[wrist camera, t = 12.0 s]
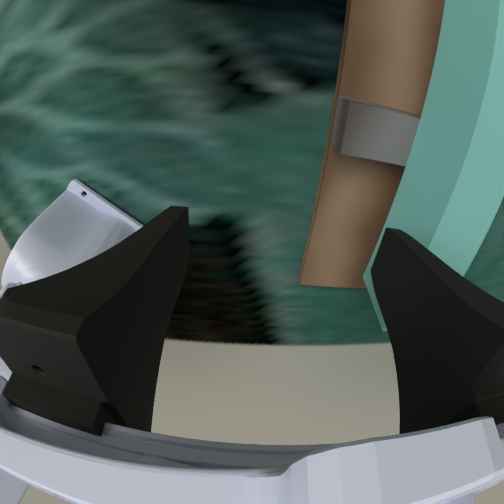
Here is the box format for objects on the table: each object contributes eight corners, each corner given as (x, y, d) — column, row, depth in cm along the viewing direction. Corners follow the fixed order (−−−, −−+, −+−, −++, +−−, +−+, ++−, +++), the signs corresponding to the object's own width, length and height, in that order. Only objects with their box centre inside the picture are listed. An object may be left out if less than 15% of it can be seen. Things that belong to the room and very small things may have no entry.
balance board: (298, 276, 26) (303, 307, 23) (352, -61, 11) (369, -79, 8) (421, 284, 26) (435, 310, 23) (498, 5, 11) (528, 5, 8)
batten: (403, 281, 21) (427, 332, 17) (362, 276, 21) (382, 330, 17) (490, 16, 10) (546, 20, 6) (446, -11, 9) (500, -19, 5)
